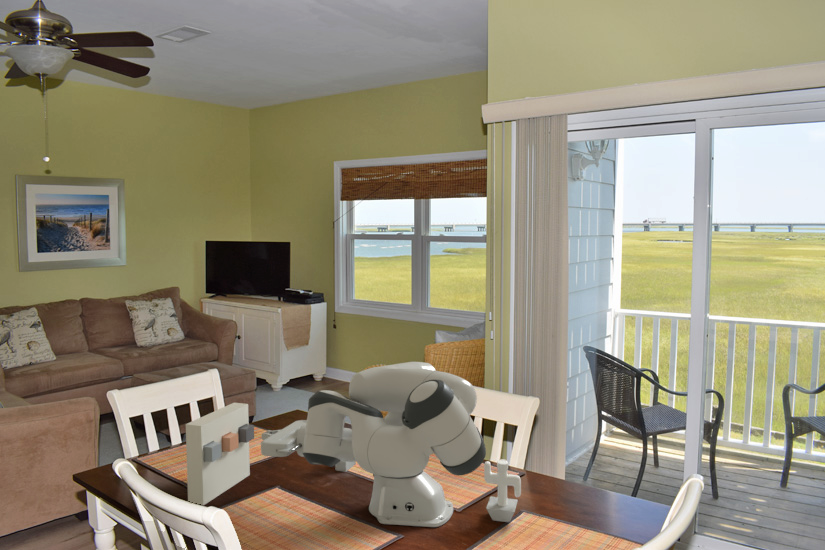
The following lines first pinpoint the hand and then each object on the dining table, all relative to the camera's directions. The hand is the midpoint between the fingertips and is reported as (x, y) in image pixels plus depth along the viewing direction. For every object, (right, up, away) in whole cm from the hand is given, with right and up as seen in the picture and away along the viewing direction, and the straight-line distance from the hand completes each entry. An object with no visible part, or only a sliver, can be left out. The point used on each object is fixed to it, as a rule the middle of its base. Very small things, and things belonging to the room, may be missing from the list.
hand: (264, 434), depth 172 cm
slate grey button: (-14, -6, -2) cm, 16 cm away
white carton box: (+20, -16, +23) cm, 35 cm away
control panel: (-14, -17, +8) cm, 24 cm away
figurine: (+64, -19, -11) cm, 68 cm away
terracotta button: (-12, -6, +6) cm, 14 cm away
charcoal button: (-9, -5, +13) cm, 17 cm away
